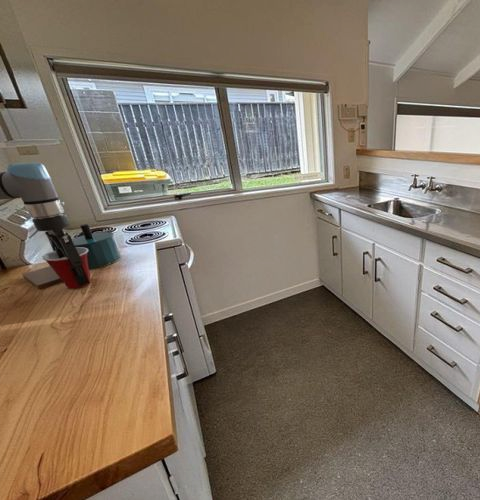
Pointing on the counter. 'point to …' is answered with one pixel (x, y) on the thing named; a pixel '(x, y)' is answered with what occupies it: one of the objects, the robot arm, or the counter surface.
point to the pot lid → (90, 237)
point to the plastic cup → (62, 267)
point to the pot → (102, 253)
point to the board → (42, 277)
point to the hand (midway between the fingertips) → (78, 281)
